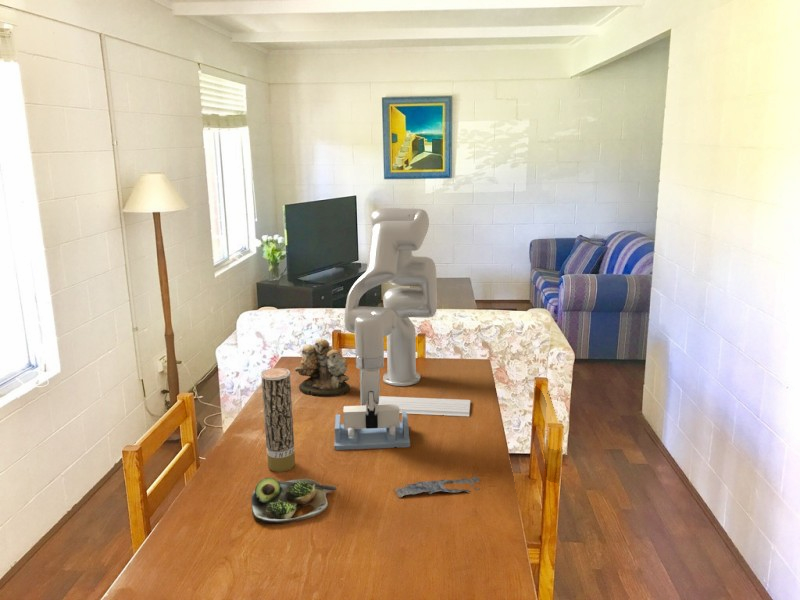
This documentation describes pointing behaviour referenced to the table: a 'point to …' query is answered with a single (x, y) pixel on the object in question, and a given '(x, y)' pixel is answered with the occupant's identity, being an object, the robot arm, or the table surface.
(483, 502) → the table surface
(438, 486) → the driftwood
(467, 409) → the grooved white panel
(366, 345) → the robot arm
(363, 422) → the clay bar
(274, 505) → the salad plate
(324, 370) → the owl figurine
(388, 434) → the rack
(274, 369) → the paper tube
